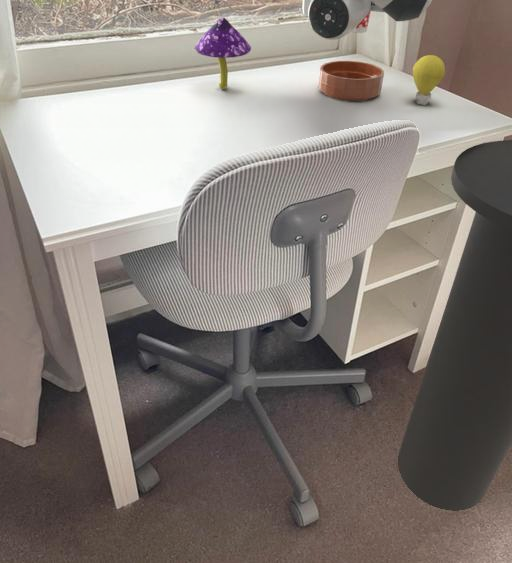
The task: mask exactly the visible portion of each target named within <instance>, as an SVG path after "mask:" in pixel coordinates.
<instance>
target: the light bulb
mask: <svg viewBox="0 0 512 563" xmlns="http://www.w3.org/2000/svg"><path fill="white" fill-rule="evenodd" d="M445 67H446V66H445V63H444V61H443V60H442V58H440V57H439V56H437V55H434V54H427V55H424V56H422V57H420V58H419V59H417V61H416V62H415V63H414V65H413V68H412V78H413V80H414V84H415V86H416V89H417V91H416V93H415V98H416V104H418V105H422V106H423V105H424V106H425V105H428V102H429V100H431V99H432V98H431V97H432V93H431V92H432V91H434V89H435V88H436V87H437V86H438V85H439V84H440V82H441V81H442V80H443V79H444V77H445V73H446V68H445Z"/></svg>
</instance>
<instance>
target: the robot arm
mask: <svg viewBox="0 0 512 563" xmlns="http://www.w3.org/2000/svg"><path fill="white" fill-rule="evenodd" d="M432 2H433V0H302V14H303V15H304V16H307V18H308V19H307V20H308V23H309V25H310V28H311V30H312V31H313V32H314V33H315V34H316V35H317V36H318V37H320V38H322V39H324V40H330V41H335V40H340V39H342V38H344V37H346V36H347V35H349V34H350V33H352V32H351V31H352V30H354V29H355V28H356V27H357V25H358V24H359V23H360V22H361V21H362V20H363V19H364V18H365V17H366V16H367V15H368V13H369V11H371V12H377V13H385V14H387V15H388V16H389V17H390V18H391V19H393V21H395V22H407V21H411V20H415V19H418V18H420V16H422V15H423V13H424V12H425V11H426V10H427V9H428V7H430V5H431V3H432Z"/></svg>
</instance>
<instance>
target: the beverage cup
mask: <svg viewBox="0 0 512 563" xmlns="http://www.w3.org/2000/svg"><path fill="white" fill-rule="evenodd" d="M371 12H372V11H369V13H368V15H367V16H366V17H365V18H364V19H363V20H362V21H361V22H360V23H359V24H358V25H357V27H356V28H355V29H354V30H352V31H351V32H350V33H353V34H363V33H366V32H367V31H368V26H369V23H370V17H371Z"/></svg>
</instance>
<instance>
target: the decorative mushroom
mask: <svg viewBox="0 0 512 563" xmlns="http://www.w3.org/2000/svg"><path fill="white" fill-rule="evenodd" d="M194 50H195V51H196V53H197V54H199V55H202V56H206V57H209V58H217V62H218V65H219V73H220V74H219V75H220V76H219V84H218V87H219V88H220V89H223V90H224V89H227V88H228V79H229V78H228V75H229V74H228V73H229V71H228V70H229V69H228V64H227V58H238V57H239V58H240V57H243V56H245V55H247V54H249V53H250V52H251V50H252V46H251V45H250V44H249V42H248V41H247V40H246V39H245V37H244V36H243V35H242V34H241V33H240V32H239V31H238V30H237V29H236V28H235V27H234V26H233V25H232V24H231V23H230V21H229V20H227V19H226V17H220V18H218V19H217V21H216V22H215V23H214V24H213V25H211V27H209V29H208V30H207V31H205V33H203V35H202V36H201V37H200V38H199V40H198V42H197V43H196V44H195V46H194Z"/></svg>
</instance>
